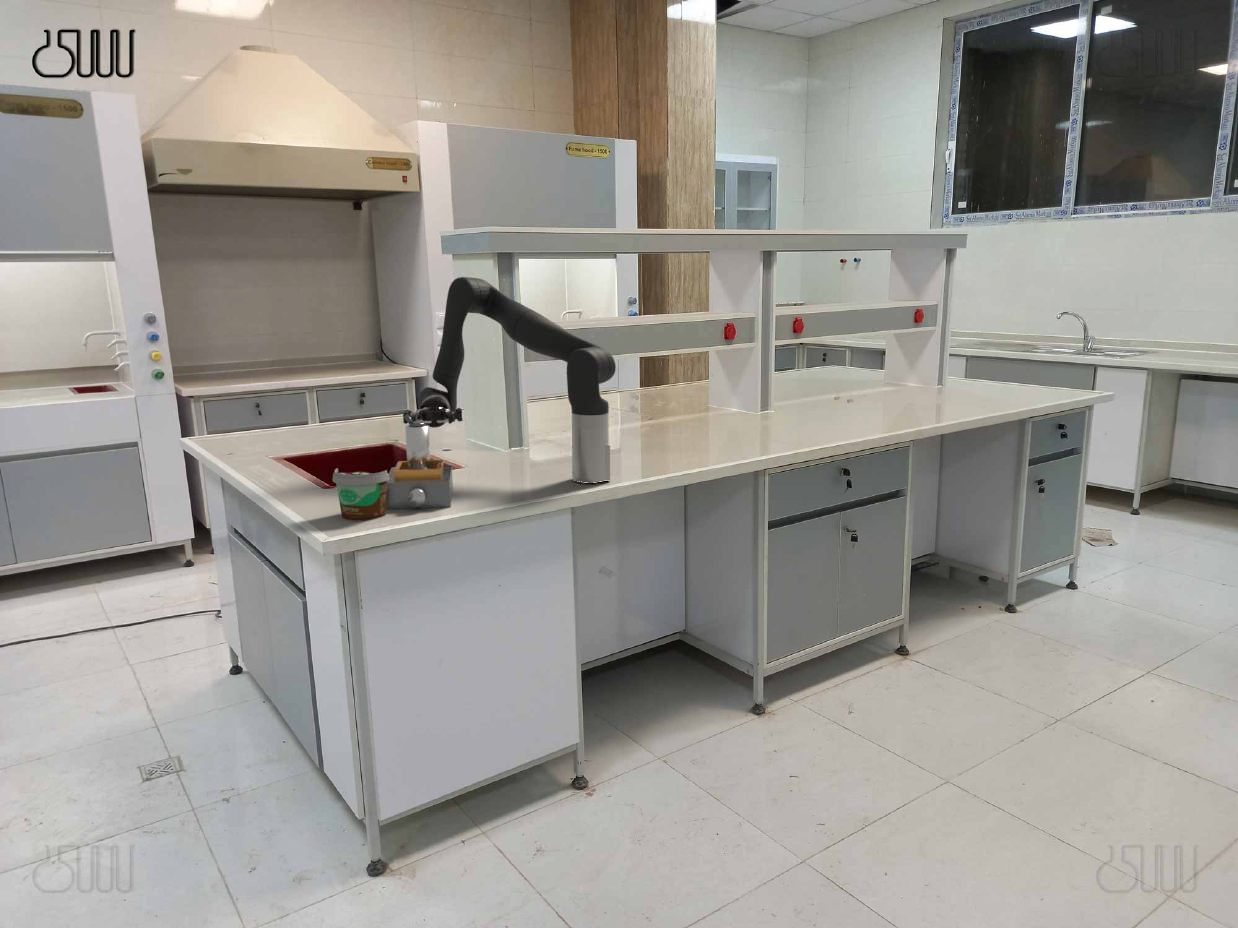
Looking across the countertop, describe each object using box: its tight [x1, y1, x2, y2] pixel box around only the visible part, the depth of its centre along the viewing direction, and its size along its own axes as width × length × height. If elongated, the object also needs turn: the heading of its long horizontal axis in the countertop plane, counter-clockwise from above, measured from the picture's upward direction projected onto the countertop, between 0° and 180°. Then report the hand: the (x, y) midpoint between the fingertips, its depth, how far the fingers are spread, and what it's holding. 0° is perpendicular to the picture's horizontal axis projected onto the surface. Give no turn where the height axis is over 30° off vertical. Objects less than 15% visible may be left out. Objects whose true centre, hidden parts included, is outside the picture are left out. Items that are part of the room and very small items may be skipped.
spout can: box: [404, 414, 432, 470], centre depth 195 cm, size 5×5×14 cm
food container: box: [332, 467, 390, 522], centre depth 181 cm, size 12×6×10 cm, turn 81°
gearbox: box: [386, 459, 454, 510], centre depth 195 cm, size 14×19×8 cm
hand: (431, 420), depth 206 cm, fingers open, 8 cm apart
